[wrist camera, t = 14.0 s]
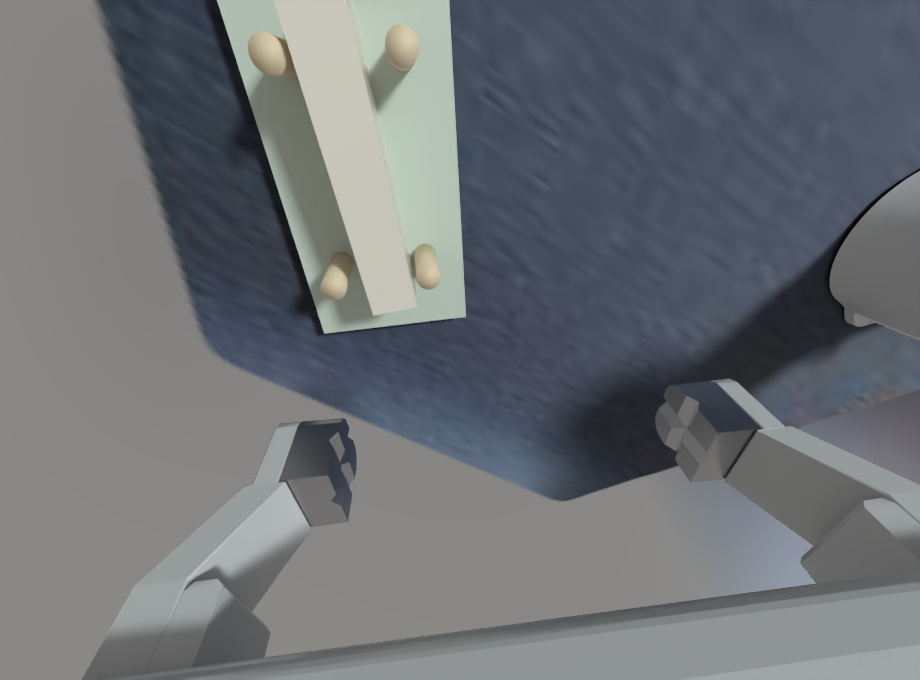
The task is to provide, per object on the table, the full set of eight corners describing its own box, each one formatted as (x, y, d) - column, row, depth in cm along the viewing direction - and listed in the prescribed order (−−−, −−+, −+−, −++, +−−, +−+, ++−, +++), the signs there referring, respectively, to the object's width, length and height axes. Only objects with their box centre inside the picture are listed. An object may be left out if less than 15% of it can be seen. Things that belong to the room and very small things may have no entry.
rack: (199, -87, 18) (123, -154, 13) (440, -93, 19) (455, -158, 14) (327, 324, 32) (313, 366, 27) (463, 308, 33) (474, 346, 28)
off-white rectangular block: (298, 14, 19) (271, -8, 15) (354, 5, 19) (342, -18, 15) (377, 283, 28) (373, 315, 24) (414, 276, 29) (417, 307, 25)
